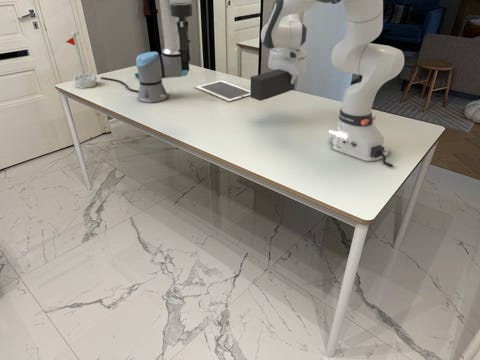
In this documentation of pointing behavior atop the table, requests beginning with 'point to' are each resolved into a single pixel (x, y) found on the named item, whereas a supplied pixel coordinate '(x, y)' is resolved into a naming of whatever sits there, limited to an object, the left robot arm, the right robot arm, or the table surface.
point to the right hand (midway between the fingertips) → (285, 81)
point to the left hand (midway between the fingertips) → (186, 65)
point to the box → (270, 84)
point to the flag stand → (82, 68)
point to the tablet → (225, 90)
